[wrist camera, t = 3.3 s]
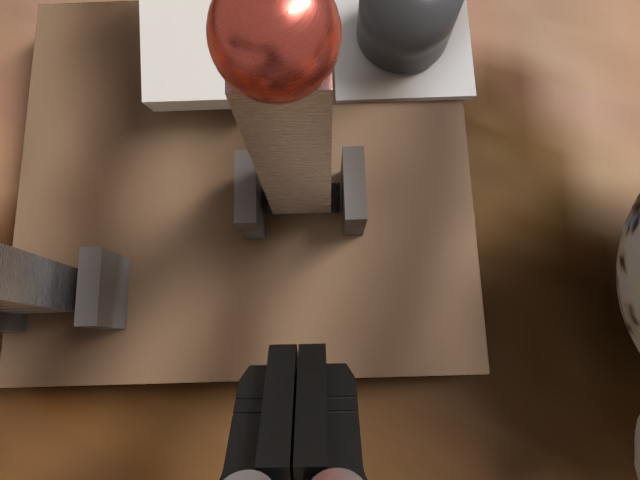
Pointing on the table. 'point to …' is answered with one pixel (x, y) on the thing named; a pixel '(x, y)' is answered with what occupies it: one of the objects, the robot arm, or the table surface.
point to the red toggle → (282, 94)
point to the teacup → (631, 291)
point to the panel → (240, 222)
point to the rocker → (178, 57)
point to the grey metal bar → (35, 283)
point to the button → (405, 32)
